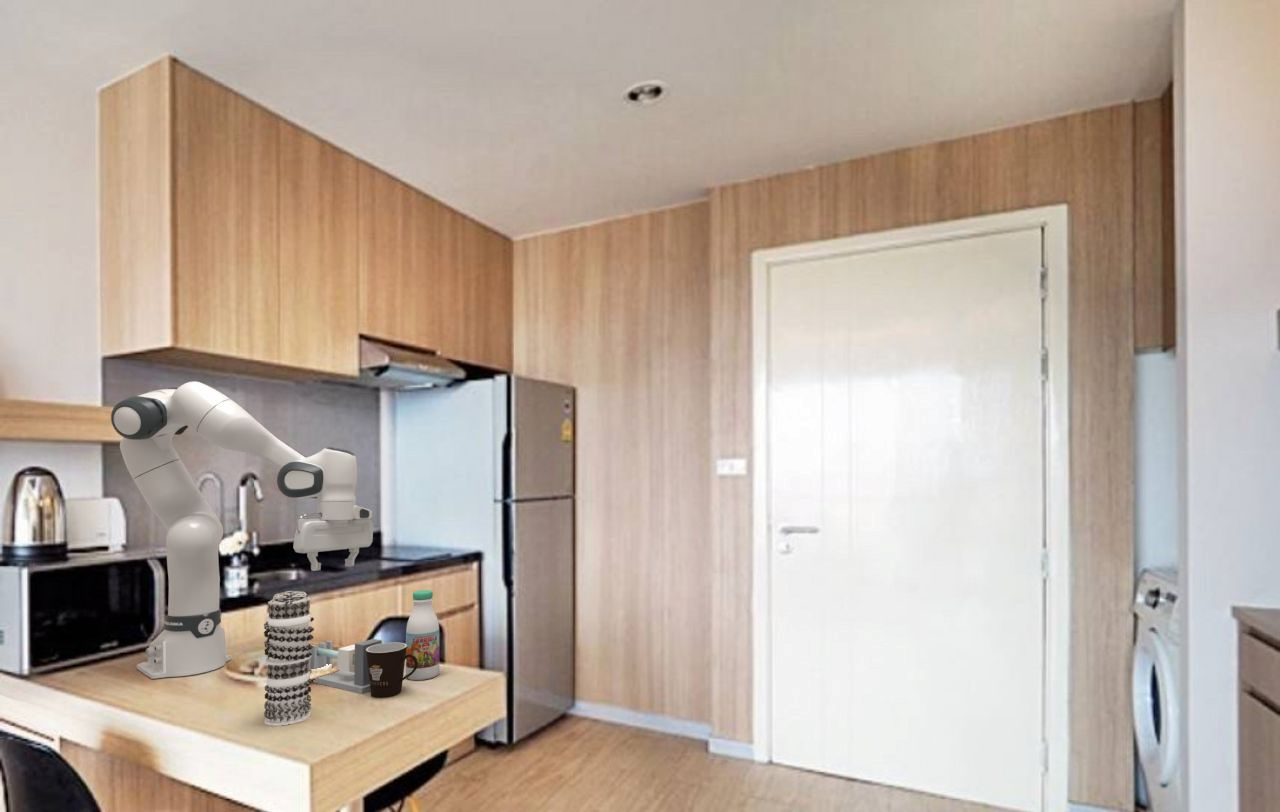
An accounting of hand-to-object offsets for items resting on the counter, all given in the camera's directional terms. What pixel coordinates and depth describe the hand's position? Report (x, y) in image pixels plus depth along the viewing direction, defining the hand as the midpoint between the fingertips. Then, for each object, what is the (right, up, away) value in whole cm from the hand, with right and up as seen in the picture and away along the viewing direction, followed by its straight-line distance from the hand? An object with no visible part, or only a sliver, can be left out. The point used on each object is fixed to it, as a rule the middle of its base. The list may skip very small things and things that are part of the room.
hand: (332, 568), depth 175 cm
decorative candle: (+5, -23, -33) cm, 41 cm away
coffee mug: (+21, -24, -20) cm, 37 cm away
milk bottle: (+24, -25, -7) cm, 35 cm away
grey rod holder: (+7, -24, -10) cm, 27 cm away
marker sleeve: (+9, -21, -11) cm, 25 cm away
